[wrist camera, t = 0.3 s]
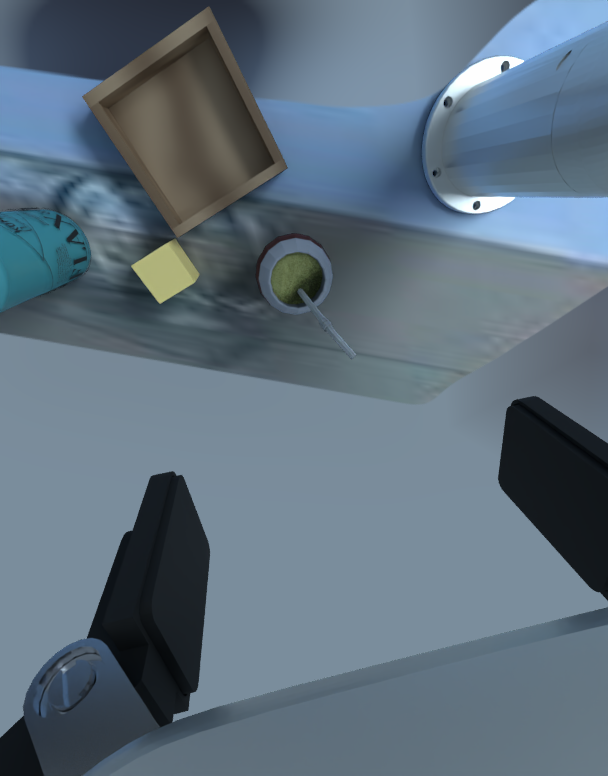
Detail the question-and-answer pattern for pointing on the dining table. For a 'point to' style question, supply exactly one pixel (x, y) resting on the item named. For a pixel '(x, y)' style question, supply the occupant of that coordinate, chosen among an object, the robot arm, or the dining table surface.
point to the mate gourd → (297, 279)
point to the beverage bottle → (38, 254)
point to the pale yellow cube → (166, 271)
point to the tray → (188, 124)
